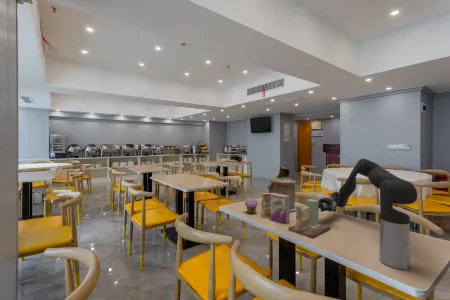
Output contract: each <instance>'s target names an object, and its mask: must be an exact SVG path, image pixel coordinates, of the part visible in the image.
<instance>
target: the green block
mask: <svg viewBox="0 0 450 300" xmlns="http://www.w3.org/2000/svg"><path fill="white" fill-rule="evenodd" d="M319 200H320V199H319ZM319 200H318V199H314V198H309V199H306V200H305V206H306V207H310V212H309V226H313V227H315V226H317V225H318V224H319V210H320V209H319Z"/></svg>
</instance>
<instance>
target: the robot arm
mask: <svg viewBox="0 0 450 300" xmlns="http://www.w3.org/2000/svg"><path fill="white" fill-rule="evenodd" d="M358 174H359V175H361V176H364V177H365V178H368V181H369V182H370V183H371V184H372V186H374V187H375V188H377V189H379V200H380V201H379V202H380V203H379V204H380V205H379V209H380V220H379V221H380V224H379V253H378V254H379V257H378V258H379V261H380V262H381V263H382V264H384V265H385V266H387V267H390V268H394V269H397V270H404V271H408V269H409V268H410V266H411V243H412V242H411V241H410V233H411V232H410V229H411V228H410V227H411V226H410V225H411V219H410V218H411V217H410V216H409V214H407V213H406V212H403V211H401V210H397V209H395V208H394V207H393V205H394V204H395V205H396V204H397V205H412V204H414V203H415V202H416V201H417V199H418V191H417V188H416V186H415V185H414V184H413V183H412V182H410V181H409V180H406V179H403V178H400V177H398V176H396V175H395V174H393V173H391V172H390V171H389V170H387V169H385V168H382V166H380V165H379V163H376V162H374V161H371V160H369V159H366V158H360V159H358V160H357V162H356V163H355V165H354V167H353V168H352V170H351V172H350V174H349V175H348V177H347V179H346V180H345V182H344V183H343V184H342V186H341V187H340V188H339V190H338V191H334V192H333V193H331V195H330V196H325V197H322V198H320V199H319V210H320V212H329V213H330V212H332V211H334V210H335V209H334V208H336V207H338V208H344V207H346V205H347V203H348V202H349V198H350V196H351V195H352V194H353V193H354V192H355V190H356V189H357V176H358Z"/></svg>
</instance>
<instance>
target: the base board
mask: <svg viewBox="0 0 450 300" xmlns="http://www.w3.org/2000/svg"><path fill="white" fill-rule="evenodd" d="M309 212H310V207H306V205H302V204H301V205H298V206H297V207H296V211H295V224H294V225H292V226H289V227H288V231H291V232H293V233H295V234H298V235H301V236H304V237H306V238H309V239H311V240H312V239H315V238H317V237H319V236H321V235H322V234H325V233H326V232H328V231H330V230H331V226H327V225H324V224H320V223H318V225H317V226H315V227H313V226H309Z"/></svg>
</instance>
